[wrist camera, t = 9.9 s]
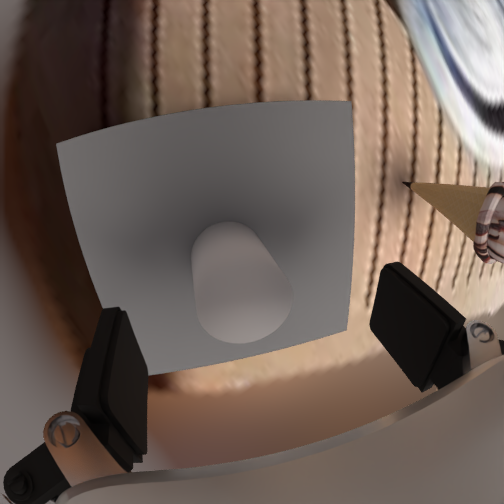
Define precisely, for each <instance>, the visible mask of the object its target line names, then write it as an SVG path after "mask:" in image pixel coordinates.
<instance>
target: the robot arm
mask: <svg viewBox="0 0 504 504" xmlns="http://www.w3.org/2000/svg"><path fill="white" fill-rule="evenodd" d="M465 320H466V318H465V317H464V316H463V315H462V314H460V313H459V312H458V311H457V310H456V309H455V308H454V307H453V306H451V305H450V304H449V303H448V302H447V301H446V300H445V299H444V298H442V297H441V296H440V295H439V294H438V293H437V292H435V291H434V290H433V289H432V288H431V287H429V286H428V285H427V284H426V283H425V282H424V281H422V280H421V279H420V278H419V277H417V276H416V275H415V274H414V273H413V272H411V271H410V270H409V269H408V268H406V267H405V266H404V265H403V264H401V263H400V262H394V263H389V264H386V265H385V266H384V267H383V269H382V270H381V272H380V277H379V282H378V287H377V292H376V297H375V301H374V306H373V310H372V314H371V319H370V329H371V331H372V332H373V333H374V335H375V336H376V337H377V338H378V340H379V341H380V342H381V343H382V345H383V346H384V347H385V349H386V350H387V351H388V352H389V354H390V355H391V356H392V358H393V359H394V360H395V361H396V363H397V364H398V365H399V367H400V368H401V369H402V371H403V372H404V373H405V374H406V376H407V377H408V379H409V380H410V381H411V382H412V384H413V385H414V386H415V387H418V388H419V389H420V391H421V392H424V391H426V390H428V389H430V388H431V387H432V386H433V384H435V385H436V392H434V393H432V394H430V395H428V396H427V397H425V398H423V399H421V400H419V401H417V402H415V403H413V404H411V405H409V406H407V407H405V408H403V409H401V410H398V411H396V412H394V413H392V414H390V415H388V416H385V417H383V418H381V419H378V420H376V421H374V422H371V423H369V424H366V425H364V426H361V427H359V428H356V429H353V430H351V431H348V432H345V433H343V434H340V435H337V436H334V437H331V438H328V439H325V440H322V441H319V442H315V443H312V444H309V445H305V446H302V447H298V448H295V449H291V450H287V451H283V452H279V453H275V454H271V455H266V456H262V457H257V458H252V459H247V460H241V461H236V462H230V463H223V464H217V465H209V466H202V467H194V468H185V469H172V470H158V471H146V472H131V470H132V469H133V463H142V462H143V461H142V455H144V454H147V395H148V368H147V364H146V362H145V359H144V357H143V355H142V352H141V350H140V347H139V344H138V342H137V339H136V337H135V334H134V331H133V328H132V326H131V323H130V320H129V317H128V314H127V312H126V311H125V310H123V311H121V309H120V307H111V308H104V309H103V310H102V312H101V316H100V319H99V322H98V325H97V328H96V332H95V335H94V338H93V342H92V345H91V348H88V349H87V350H86V352H85V355H84V358H83V362H82V366H81V369H80V373H79V377H78V381H77V385H76V390H75V393H74V398H73V402H72V407H71V411H62V412H58V413H56V414H54V415H53V416H52V417H50V418H49V420H48V421H47V422H46V424H45V426H44V430H43V438H44V441H45V442H44V443H43V444H42V445H40V446H39V447H38V448H36V449H35V450H34V451H32V452H31V453H30V454H28V455H27V456H26V457H24V458H23V459H22V460H20V461H19V462H18V463H16V464H15V465H14V466H12V467H11V468H10V469H9V470H8V471H7V472H6V475H5V476H4V482H3V483H4V490H5V493H4V495H3V494H1V493H0V504H504V341H503V340H498V335H497V333H496V331H495V330H494V328H493V327H492V326H490V325H489V324H488V323H485V322H483V321H479V320H474V321H471V322H469V323H468V325H467V327H466V328H465V327H464V326H463V325H464V322H465Z"/></svg>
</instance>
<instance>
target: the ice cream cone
mask: <svg viewBox="0 0 504 504" xmlns="http://www.w3.org/2000/svg"><path fill="white" fill-rule="evenodd" d="M403 184H405V185H406V186H407V187H409V188H410V189H411V190H413V191H414V192H415V193H417V194H418V195H419V196H421V197H422V198H423V199H424V200H426V201H427V202H428V203H429V204H431V205H432V206H433V207H434V208H436V209H437V210H438V211H439V212H440V213H442V214H443V215H444V216H445V217H446V218H448V219H449V220H450V221H451V222H452V223H453V224H454V225H456V226H457V227H458V228H459V229H460V230H461V231H462V232H463V233H465V234H466V235H467V236H468V237H469V238H470V239H471V240H472V241H473V242H474V246H473V247H474V250H475V252H476V254H477V256H478V257H479V258H480V259H481V260H482V261H483V262H485V263H488V264H492V263H495V262H496V261H498V262H501V263H504V182H495V183H494V184H493V185H492V186H491V187H490V188H486V187H475V186H464V185H450V184H435V183H415V182H403Z"/></svg>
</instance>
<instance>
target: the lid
mask: <svg viewBox="0 0 504 504" xmlns="http://www.w3.org/2000/svg"><path fill="white" fill-rule="evenodd" d="M56 145H57V151H58V157H59V162H60V168H61V173H62V177H63V182H64V187H65V191H66V195H67V200H68V204H69V208H70V211H71V215H72V219H73V223H74V226H75V230H76V233H77V236H78V240H79V243H80V246H81V249H82V252H83V255H84V258H85V261H86V264H87V267H88V270H89V273H90V276H91V278H92V281H93V284H94V287H95V289H96V292H97V294H98V297H99V299H100V302H101V304H102V307H103V309H104V308H111V307H120V309H121V311H123V310H125V311H126V312H127V314H128V317H129V320H130V323H131V326H132V328H133V331H134V334H135V337H136V339H137V342H138V344H139V347H140V350H141V352H142V355H143V357H144V359H145V362H146V364H147V368H148V375H154V374H161V373H168V372H174V371H180V370H186V369H192V368H198V367H203V366H208V365H214V364H219V363H224V362H228V361H233V360H238V359H242V358H247V357H251V356H256V355H260V354H264V353H268V352H272V351H276V350H280V349H284V348H288V347H291V346H295V345H299V344H302V343H306V342H309V341H313V340H316V339H320V338H323V337H326V336H330V335H333V334H336V333H339V332H343V331H346V330H347V323H348V314H349V304H350V293H351V281H352V267H353V249H354V223H355V161H354V136H353V119H352V105H351V101H276V102H259V103H247V104H236V105H226V106H218V107H210V108H203V109H196V110H189V111H183V112H177V113H172V114H166V115H161V116H156V117H151V118H146V119H142V120H137V121H133V122H129V123H125V124H121V125H117V126H113V127H109V128H105V129H102V130H98V131H95V132H91V133H88V134H85V135H82V136H78V137H75V138H72V139H69V140H66V141H63V142H60V143H57V144H56Z"/></svg>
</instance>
